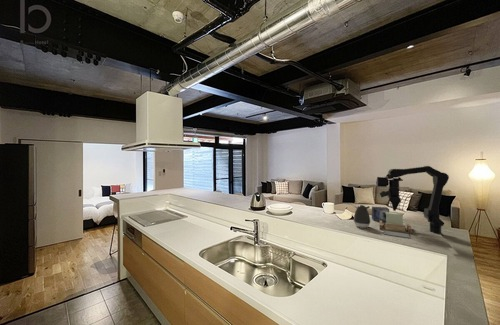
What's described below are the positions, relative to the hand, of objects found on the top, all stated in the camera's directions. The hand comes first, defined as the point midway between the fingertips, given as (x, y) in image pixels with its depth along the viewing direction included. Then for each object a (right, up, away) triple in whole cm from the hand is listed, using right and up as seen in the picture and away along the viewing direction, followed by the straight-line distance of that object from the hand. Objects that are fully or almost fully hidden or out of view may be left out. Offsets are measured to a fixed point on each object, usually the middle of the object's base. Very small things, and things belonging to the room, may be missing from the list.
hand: (394, 210), depth 142 cm
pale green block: (0, -12, 0) cm, 12 cm away
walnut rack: (-1, -12, -2) cm, 12 cm away
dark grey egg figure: (-20, -13, +3) cm, 24 cm away
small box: (+1, -13, +17) cm, 21 cm away
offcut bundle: (-4, -12, -6) cm, 15 cm away
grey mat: (-8, -12, -13) cm, 20 cm away
